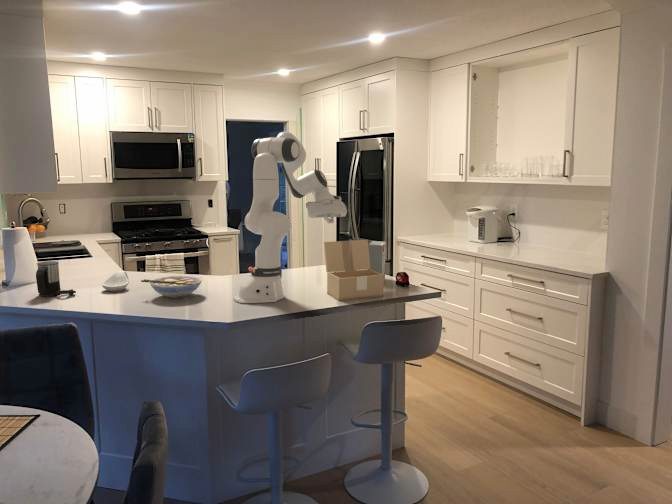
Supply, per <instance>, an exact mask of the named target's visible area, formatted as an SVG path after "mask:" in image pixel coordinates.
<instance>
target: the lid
mask: <svg viewBox="0 0 672 504" xmlns="http://www.w3.org/2000/svg"><path fill="white" fill-rule="evenodd" d="M368 245H369V239H356V240H352V241H349V240H337V241H324V242H323V247H324V258H325V259H324V260H325V269H326V270H325V272H326V273H330V272H343V271H351V270H367V269H370V259H369V248H368Z"/></svg>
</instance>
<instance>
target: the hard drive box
mask: <svg viewBox="0 0 672 504" xmlns="http://www.w3.org/2000/svg"><path fill="white" fill-rule="evenodd" d="M368 248H369V259H370V269H371V270H373V271H375V272H378V273H380V274H383V275H384V280H385V278H386V257H387V256H386V255H387V254H386V251H387V249H386V248H387V242H386V241H380V240H379V241H377V240H376V241H375V240H372V241H370V242H369V243H368ZM366 270H368V269H366Z"/></svg>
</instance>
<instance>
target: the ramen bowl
mask: <svg viewBox="0 0 672 504" xmlns="http://www.w3.org/2000/svg"><path fill="white" fill-rule="evenodd" d="M202 281H203V279H202V277H200V276H196V275H187V274H183V275H182V274H180V275H167V276H161V277H157V278H153V279H143V280H140V282H141V283H149V284H150V286H151V288H152V289H153V290H154V291H155V292H156V293H157V294H160V295H162V296H165V297H167V298H171V299H179V298H184V297H186V296H188V295H190V294H192V293H194V292H195V291H196V290H197V289H198V288H199V287H200V285H201V284H202Z"/></svg>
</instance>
